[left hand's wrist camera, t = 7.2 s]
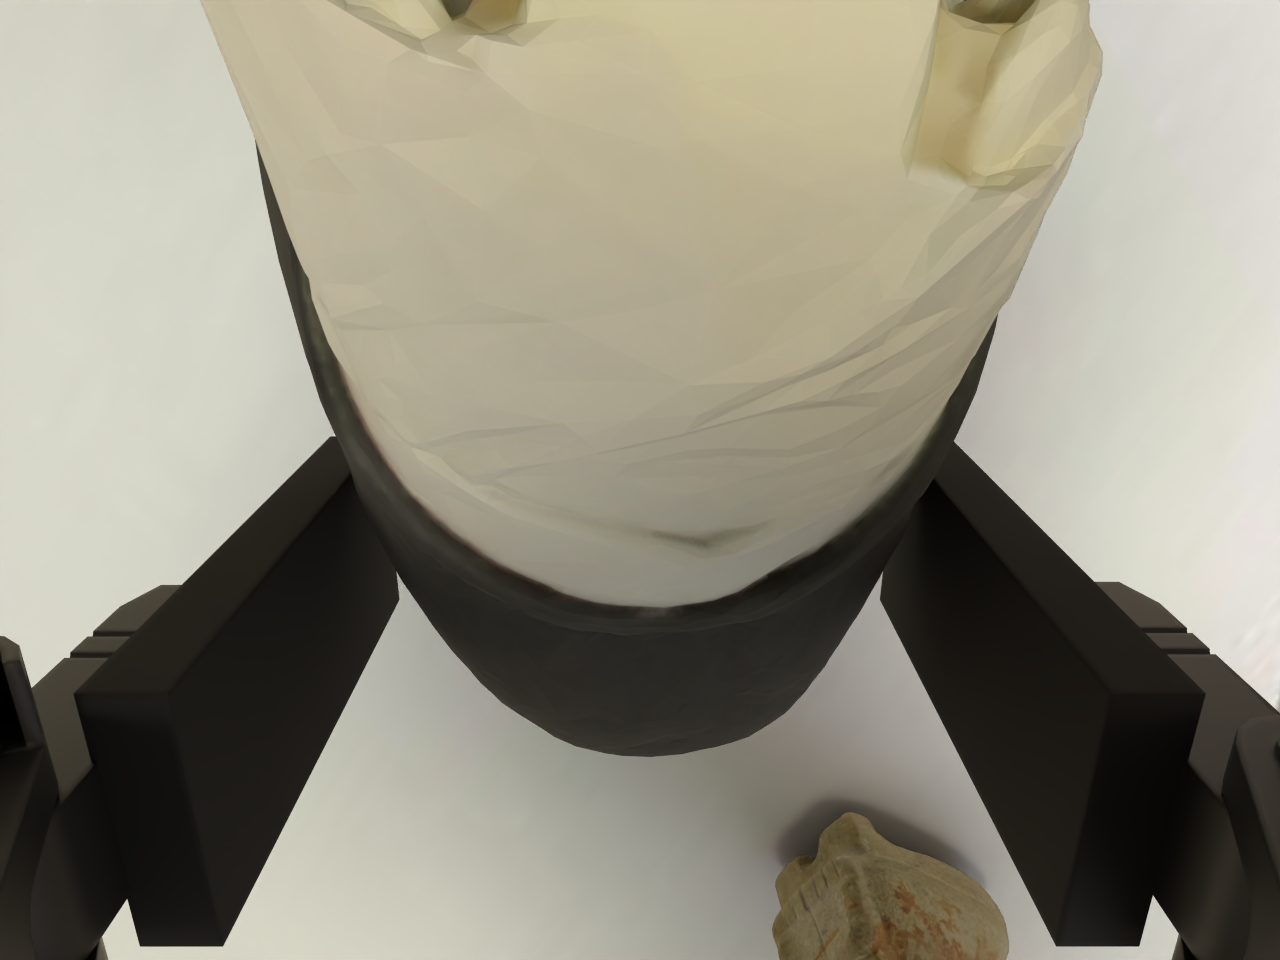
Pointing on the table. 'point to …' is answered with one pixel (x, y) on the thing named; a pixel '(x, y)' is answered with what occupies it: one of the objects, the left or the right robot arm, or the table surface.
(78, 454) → the table surface
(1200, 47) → the table surface
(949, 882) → the sculpture
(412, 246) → the dark grey shoe
